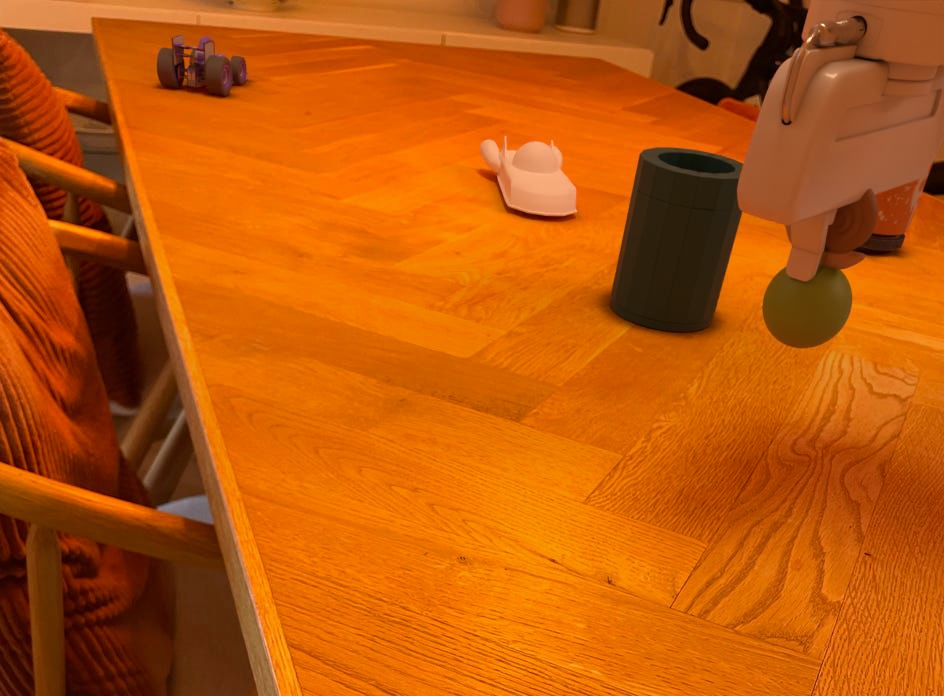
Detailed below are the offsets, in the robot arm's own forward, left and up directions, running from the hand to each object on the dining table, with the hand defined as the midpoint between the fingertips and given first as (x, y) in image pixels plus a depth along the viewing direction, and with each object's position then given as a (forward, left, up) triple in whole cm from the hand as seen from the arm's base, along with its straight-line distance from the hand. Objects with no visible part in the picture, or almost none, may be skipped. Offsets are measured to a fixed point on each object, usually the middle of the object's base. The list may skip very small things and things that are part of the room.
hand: (812, 272), depth 62 cm
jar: (+20, -20, -13) cm, 31 cm away
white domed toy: (+51, -39, -14) cm, 66 cm away
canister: (+20, -62, -14) cm, 66 cm away
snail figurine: (0, 0, -5) cm, 5 cm away
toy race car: (+112, -38, -14) cm, 119 cm away
